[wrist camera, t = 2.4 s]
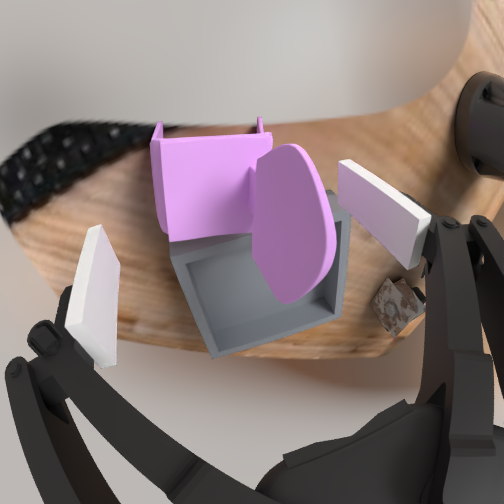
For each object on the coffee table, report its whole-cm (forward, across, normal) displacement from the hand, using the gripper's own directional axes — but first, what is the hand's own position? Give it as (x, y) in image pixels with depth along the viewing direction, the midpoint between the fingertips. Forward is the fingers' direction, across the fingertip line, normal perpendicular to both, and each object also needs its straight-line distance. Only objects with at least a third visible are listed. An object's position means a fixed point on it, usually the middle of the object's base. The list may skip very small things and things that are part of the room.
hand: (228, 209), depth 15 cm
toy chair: (+10, 0, 0) cm, 10 cm away
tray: (+10, -4, +14) cm, 17 cm away
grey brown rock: (+10, -24, +27) cm, 38 cm away
